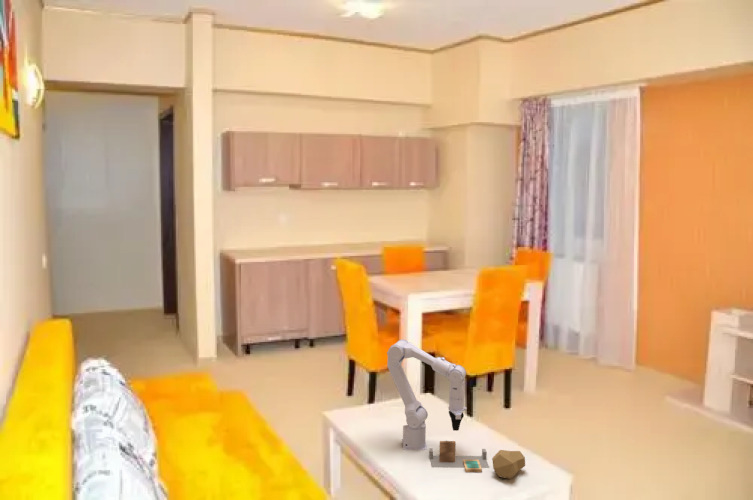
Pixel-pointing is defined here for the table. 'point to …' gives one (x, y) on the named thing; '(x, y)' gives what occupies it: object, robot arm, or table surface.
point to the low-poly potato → (508, 463)
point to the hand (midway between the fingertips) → (455, 429)
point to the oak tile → (472, 465)
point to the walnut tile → (447, 451)
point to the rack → (457, 460)
